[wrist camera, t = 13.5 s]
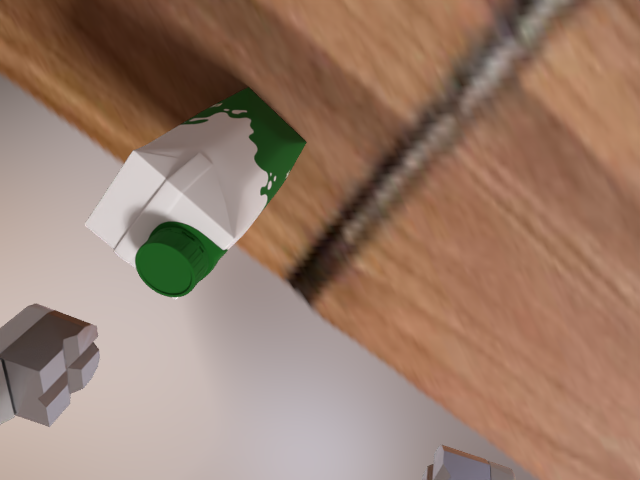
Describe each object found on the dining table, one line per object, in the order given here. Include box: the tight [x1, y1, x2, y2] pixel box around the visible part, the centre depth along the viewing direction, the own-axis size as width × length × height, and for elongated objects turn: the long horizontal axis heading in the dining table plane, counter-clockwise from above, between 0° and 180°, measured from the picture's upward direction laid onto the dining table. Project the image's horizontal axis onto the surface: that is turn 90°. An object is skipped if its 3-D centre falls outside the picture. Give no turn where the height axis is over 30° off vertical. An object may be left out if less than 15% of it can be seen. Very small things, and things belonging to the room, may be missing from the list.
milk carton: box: [84, 87, 307, 299], centre depth 37 cm, size 9×9×20 cm
